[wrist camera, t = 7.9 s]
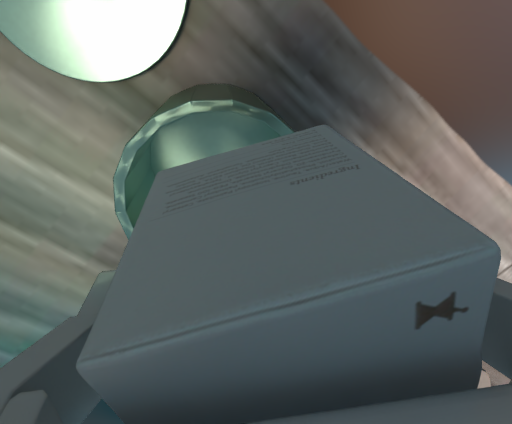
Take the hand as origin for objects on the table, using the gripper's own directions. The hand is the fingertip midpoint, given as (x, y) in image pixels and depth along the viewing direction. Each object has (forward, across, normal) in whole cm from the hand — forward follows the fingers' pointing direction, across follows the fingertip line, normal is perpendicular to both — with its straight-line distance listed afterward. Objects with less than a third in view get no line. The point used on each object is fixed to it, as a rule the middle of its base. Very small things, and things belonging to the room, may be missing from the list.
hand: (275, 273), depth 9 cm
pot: (+21, +2, +3) cm, 21 cm away
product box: (+3, 0, 0) cm, 3 cm away
